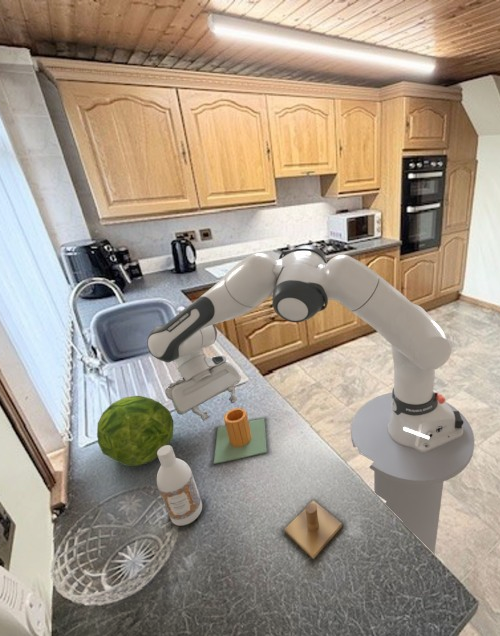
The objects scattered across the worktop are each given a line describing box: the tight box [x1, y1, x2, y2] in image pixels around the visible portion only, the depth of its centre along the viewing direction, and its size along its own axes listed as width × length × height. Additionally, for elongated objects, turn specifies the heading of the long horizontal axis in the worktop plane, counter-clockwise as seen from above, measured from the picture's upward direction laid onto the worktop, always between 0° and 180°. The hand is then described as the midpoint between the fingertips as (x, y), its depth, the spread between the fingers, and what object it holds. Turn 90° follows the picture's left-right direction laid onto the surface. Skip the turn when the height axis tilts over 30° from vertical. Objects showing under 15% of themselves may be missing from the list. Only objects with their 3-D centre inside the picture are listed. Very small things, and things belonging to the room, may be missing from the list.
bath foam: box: [156, 444, 203, 527], centre depth 77 cm, size 7×7×20 cm
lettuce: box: [96, 395, 174, 467], centre depth 96 cm, size 17×23×17 cm
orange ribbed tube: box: [223, 407, 251, 447], centre depth 99 cm, size 6×6×9 cm
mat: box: [213, 418, 268, 465], centre depth 101 cm, size 14×14×1 cm
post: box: [283, 499, 343, 560], centre depth 75 cm, size 9×9×7 cm
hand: (221, 410), depth 102 cm, fingers open, 8 cm apart
